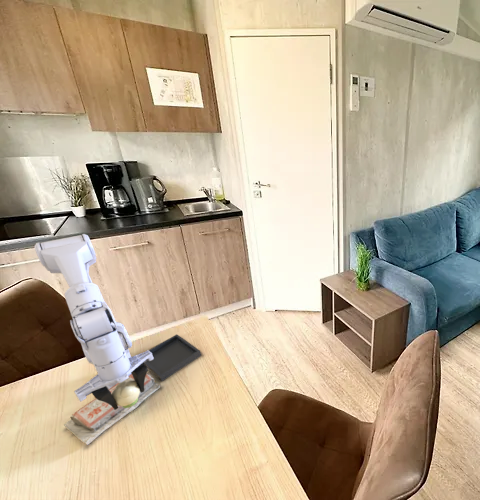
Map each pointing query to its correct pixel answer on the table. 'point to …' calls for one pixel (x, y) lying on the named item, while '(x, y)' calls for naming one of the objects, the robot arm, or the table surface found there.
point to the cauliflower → (126, 393)
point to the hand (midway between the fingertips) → (128, 398)
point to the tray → (171, 356)
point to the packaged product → (104, 413)
